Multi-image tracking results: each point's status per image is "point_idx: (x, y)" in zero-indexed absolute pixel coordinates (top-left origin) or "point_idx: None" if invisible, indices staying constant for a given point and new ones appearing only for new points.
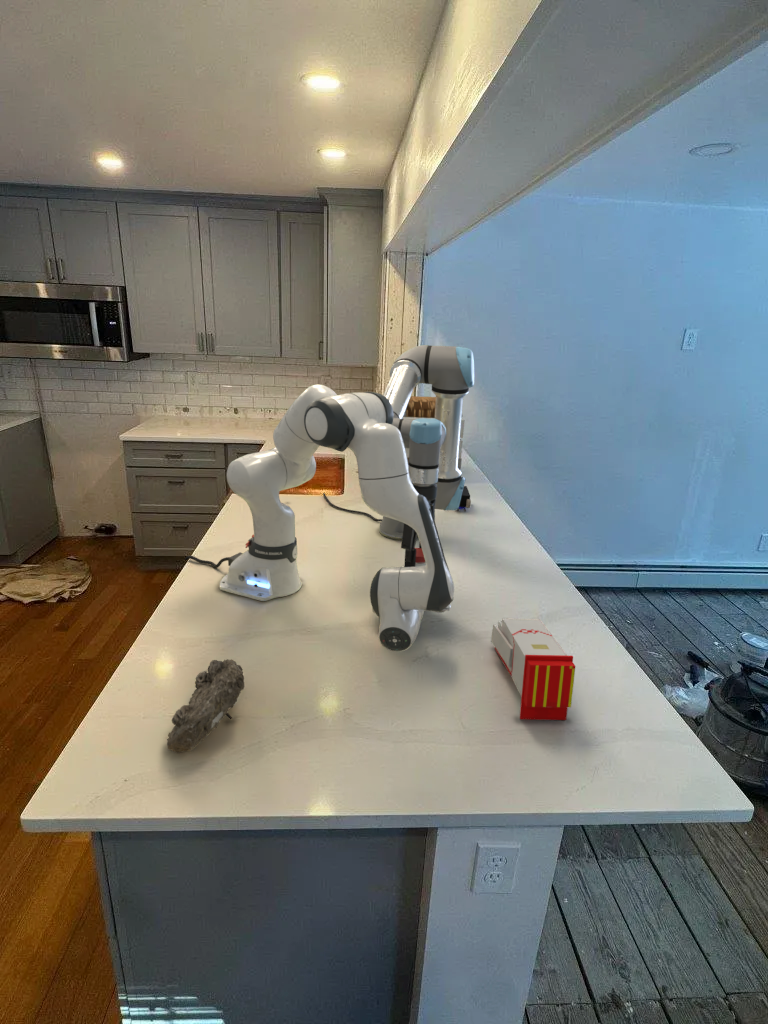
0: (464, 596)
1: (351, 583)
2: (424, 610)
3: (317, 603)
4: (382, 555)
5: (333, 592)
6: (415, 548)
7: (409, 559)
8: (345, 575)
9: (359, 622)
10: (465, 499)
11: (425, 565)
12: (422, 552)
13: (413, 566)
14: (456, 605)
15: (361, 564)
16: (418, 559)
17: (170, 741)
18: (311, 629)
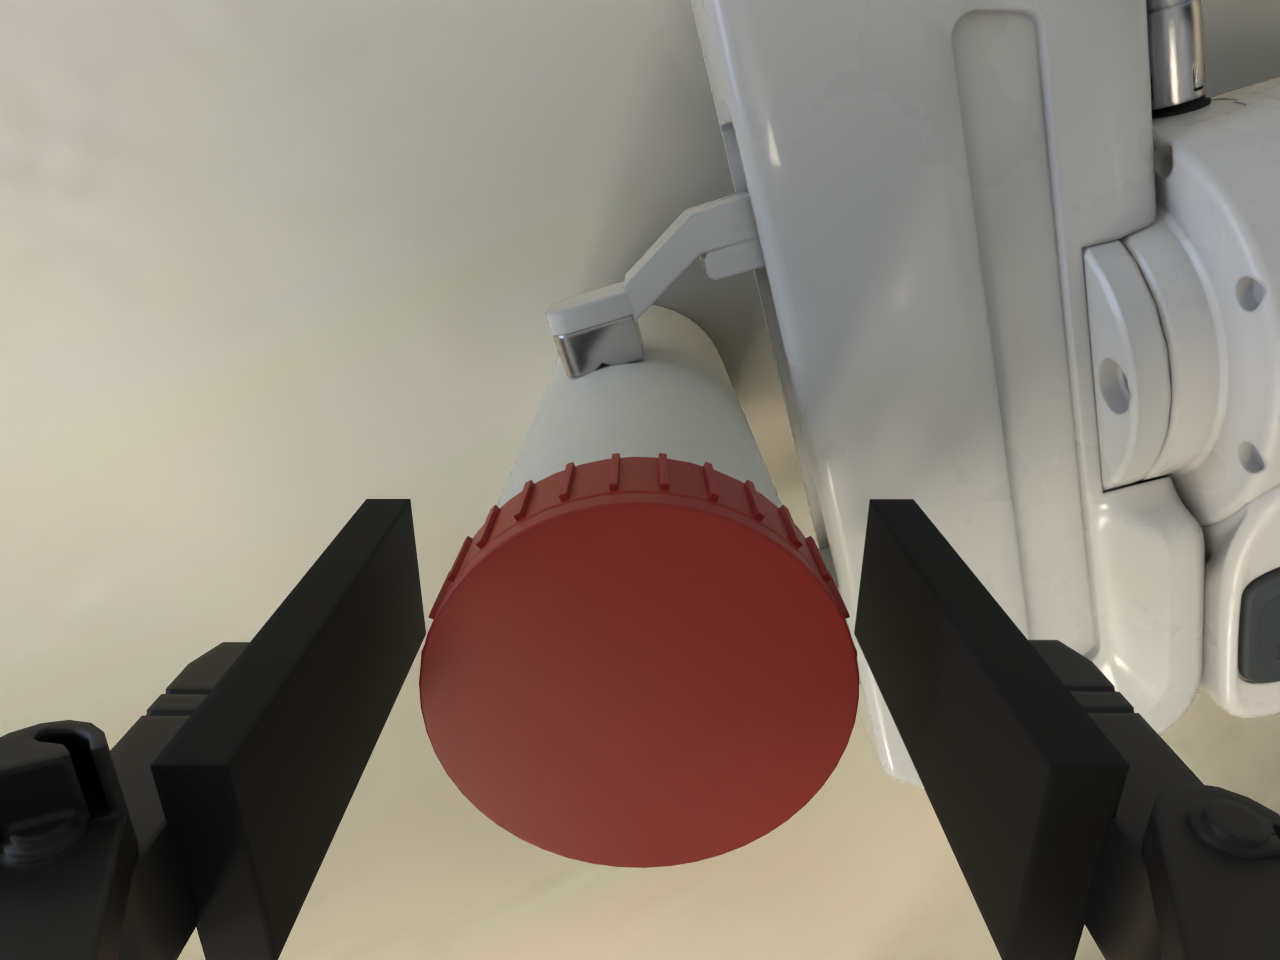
0: (184, 39)
1: (595, 877)
2: (1223, 94)
3: (949, 905)
4: None
5: (771, 901)
6: (507, 791)
7: (1100, 686)
8: (518, 949)
9: None
10: None
11: (673, 441)
12: (602, 629)
13: (954, 557)
14: (407, 40)
15: (306, 947)
16: (827, 578)
17: None
18: (1263, 791)
